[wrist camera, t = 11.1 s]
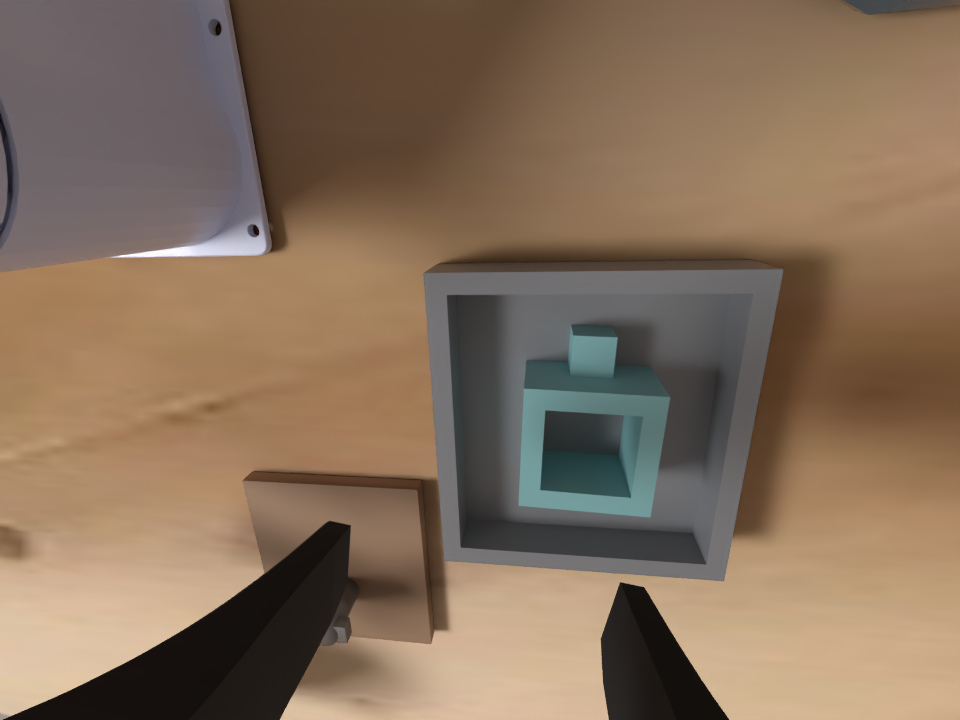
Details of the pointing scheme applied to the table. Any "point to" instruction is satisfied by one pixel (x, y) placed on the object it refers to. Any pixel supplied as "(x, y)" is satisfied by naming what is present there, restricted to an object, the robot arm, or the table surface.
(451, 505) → the tray
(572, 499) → the teal ring
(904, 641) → the table surface
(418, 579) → the board
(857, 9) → the wine bottle
